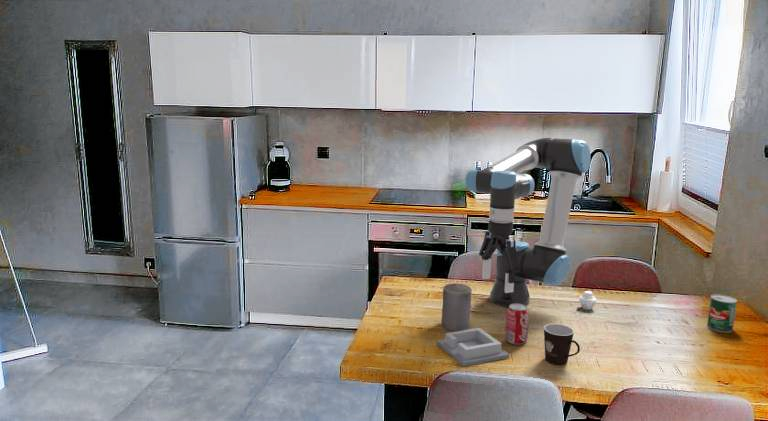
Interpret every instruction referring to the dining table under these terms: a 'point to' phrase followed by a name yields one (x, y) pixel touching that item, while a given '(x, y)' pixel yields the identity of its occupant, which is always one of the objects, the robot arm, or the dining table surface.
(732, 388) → the dining table surface
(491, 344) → the pocket board
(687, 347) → the dining table surface
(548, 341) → the coffee mug
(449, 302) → the pillar candle
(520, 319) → the soda can
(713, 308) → the canned tomato
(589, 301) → the white lidded jar
